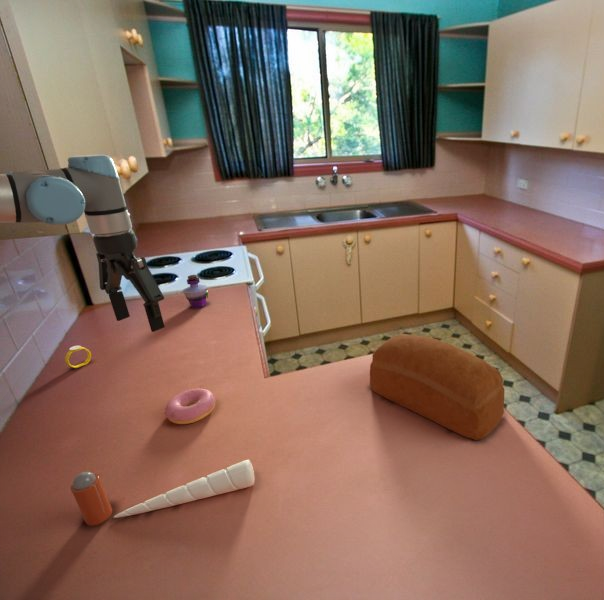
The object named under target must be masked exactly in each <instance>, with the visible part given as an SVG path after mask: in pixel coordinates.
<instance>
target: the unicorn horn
mask: <svg viewBox="0 0 604 600" xmlns="http://www.w3.org/2000/svg"><path fill="white" fill-rule="evenodd" d="M255 481H256V480H255V472H254V468H253V463H252V462H251V460H250V459H244V460H241V461H240V462H237V463H234V464H232V465H230V466H227V467H226V468H222V469H220V470H217V471H214V472H212V473H210V474H207V475H206V476H203V477H200V478H197V479H195V480H192V481H190V482H187V483H186V484H185V485H182V484H181V485H180V486H178V487H175V488H173V489H171V490H168V491H165V493H161V494H158V495H156V496H154V497H151V498H149V499H147V500H145V501H143V502H140V503H138V504H135V505H133V506H130V507H129V508H127V509H125V510H123V511H120V512H119V513H116V514H115V515H114V516H113V518H114V519H116V518H117V519H118V518H124V517H129V516H133V515H134V516H135V515H140V514H144V513H148V512H152V511H155V510H160V509H164V508H169V507H174V506H177V505H181V504H186V503H191V502H194V501H198V500H203V499H206V498H209V497H213V496H214V497H215V496H218V495H221V494H227V493H230V492H235V491H238V490H242V489H245V488H250V487H252V486H254V484H255Z"/></svg>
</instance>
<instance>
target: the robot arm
mask: <svg viewBox="0 0 604 600" xmlns="http://www.w3.org/2000/svg"><path fill="white" fill-rule="evenodd" d="M125 199H126V198H125V196H124V191H123V188H122V183H121V178H120V176H119V173H118V171H117V167H116V165H115V162H114V160H113V158H112V157H111V156H110V155H107V154H100V153H99V154H82V155H81V154H80V155H71V156H69V157H68V158H67V167H63V168H55V169H54V168H52V169H39V170H37V169H36V170H24V171H23V170H22V171H10V172H5V173H0V224H5V223H6V224H7V223H20V224H21V223H25V224H26V223H27V224H28V223H45V224H48V225H53V226H55V225H56V226H64V225H69V224H73V223H74V222H76V221H78V220H79V219H80V218H81V217H82V215H84V217H85V219H86V222H87V226H88V229H89V232H90V234H92V235H93V236H92V241H93V244H94V247H95V250H96V258H97V263H98V277H99V279H98V280H99V289H100V290H101V291H105V293H106V294H107V295H108V297H109V301H110V304H111V307H112V310H113V313H114V316H115V319H116V321H117V322H120V321H123V320H126V319H128V318H129V317H131V315H130V312H129V307H128V305H127V302H126V298H125V296H124V293H123V291H122V287H121V284H122V283H121V282H122V279H123V277H124V279H125V280H127V281H129V282H130V283H131V284H132V286H133V287H134V289H135V290H136V291H137V293H138V295H139V296H140V297H141V298H142V300H143V301H144V303H143V305H142V306H143V308H144V311H145V314H146V317H147V322H148V324H149V328H150V332H152V333H156V332H157V331H159V330H161V329H163V328H165V323H164V319H163V314H162V312H161V311H162V310H161V308H160V304H159V303H160V302H161V301H163V300H165V296H164V295H163V292H162V290H161V289H160V287H159V285H158V283H157V281H156V280H155V278H154V276H153V274H152V272H151V270H150V268H149V266H148V263H147V260H146V258H145V256H140V257H136V256H135V254H134V251H135V250H136V249H137V248H138V247H139V246H138V241H137V237H136V234H135V231H133V230H132V228H133V225H132V224H133V223H132V220H131V218H130V217H131V213H130V212H129V210H128V207H127V204H126V203H127V202H126V200H125Z"/></svg>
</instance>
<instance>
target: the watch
mask: <svg viewBox="0 0 604 600" xmlns="http://www.w3.org/2000/svg"><path fill="white" fill-rule="evenodd" d="M81 350H84V351H85V352H86V355H87V356H86V359H85V361H84V362H82V363H79V364H76V365H72V364H71V362H70V360H69V359H70V357H71V355H72V354H73V353H76V352H79V351H81ZM91 359H92V353H91V351H90V349H88V348H87V347H84V346H82V345H80V344H79V345H74V346H71V347H69V350H68V351H67V353H66V354H65V357H64V362H65V364H66V365H67V366H68V367H70V368H73V369H78V368H81V367H84V366H86V365H88V364H89V362H90V361H91Z"/></svg>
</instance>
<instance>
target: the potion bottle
mask: <svg viewBox="0 0 604 600" xmlns="http://www.w3.org/2000/svg"><path fill="white" fill-rule="evenodd" d="M186 283H187V285H189V286H187V287H185V288H183V289H182V291H183V294H184V296H185V298H186V300H188V301H187V302H188V303H189V305H190V307H191V308H194V309H198V308H199V309H200V308H203V307H205V306H207V299H208V298H209V291H208V286H207V285H206V284H199V283H201V281H200V277H198V276H197V274H190V275H187V279H186Z"/></svg>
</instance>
